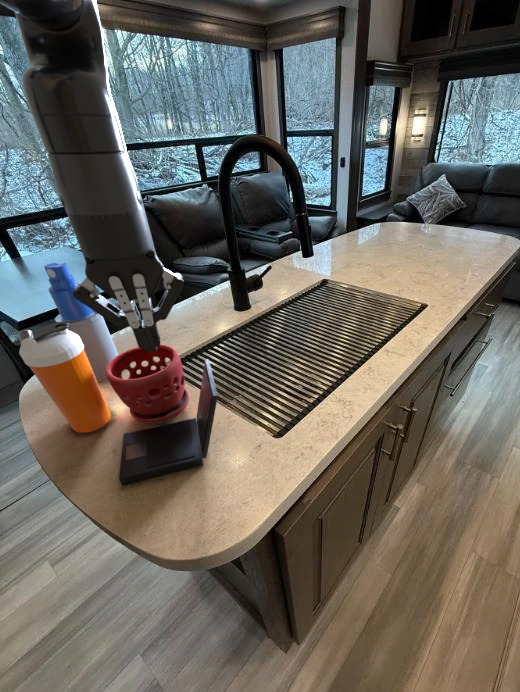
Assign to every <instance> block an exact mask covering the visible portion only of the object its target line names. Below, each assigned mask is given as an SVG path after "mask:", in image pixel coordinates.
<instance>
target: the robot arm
mask: <svg viewBox="0 0 520 692" xmlns="http://www.w3.org/2000/svg"><path fill="white" fill-rule="evenodd" d="M0 5H2V6H4V7H6V8H7V9H9V10H11V11H13V13H14V15H15V19H16V21H17V23H18V27H19V30H20V34H21V37H22V41H23V45H24V48H25V51H26V55H27V59H28V64H29V67H27V68H26V69H25V71H24V72H23V73H22V76H21V77H22V78H21V81H22V88H23V93H24V96H25V99H26V102H27V105H28V108H29V111H30V113H31V115H32V119H33V121H34V124H35V126H36V129H37V132H38V134H39V138H40V139H41V142H42V145H43V148H44V150H45V152H46V153H47V154H46V155H47V158H48V160H49V164H50V169H51V172H52V176H53V180H54V183H55V186H56V188H57V191H58V194H59V195H58V196H59V200H60V202H61V205H62V207H63V208H64V209H65V213H66V214H67V217H68V220H69V223H70V225H71V227H72V230H73V233H74V235H75V238H76V241H77V243H78V245H79V248H80V251H81V253H82V256H83V258H84V262H85V269H84V274H85V278H84V280H82V281H81V282H79V283H80V284H78V285H77V286H76V288H75V290H74V292H73V296H74V297H75V298H76V299H77V300H79V301H80V302H82V303H83V304H85V305H86V306H87V307H89V308H90V309H92V310H93V311H95V312H96V313H98V314H99V315H101V316H102V317H103V319H104V320H107V321H108V322H110V323H111V324H112V325H114V326H116V327H122V326H127V327H129V328H131V329H132V332H133V335H134V337H135V341H136V344H137V347H140V348H141V349H145V351H146V352H151V351H157V347H158V346H160V344H161V336H160V332H159V329H158V326H157V325H158V324H157V323H158V322H160V321H165V320H166V319H167V318H168V316H169V314H170V313H171V311H172V309H173V307H174V305H175V304H176V301H177V299H178V297H180V294H181V292H182V290H183V289H184V286H185V281H184V276H183V275H182V274H181V273H180V272H175V273H174V272H172V271H171V270H169V269H167V268H165V266H164V262H163V261H162V259H161V258H160V257H159V255H158V253H157V252H156V247H155V244H154V240H153V236H152V232H151V228H150V225H149V222H148V221H149V220H148V216H147V213H146V211H145V205H144V203H143V202H144V201H143V196H142V194H141V190H140V187H139V182H138V179H137V176H136V173H135V170H134V168H133V165H132V163H131V160H130V158H129V154H128V152H127V146H126V142H125V140H124V139H125V138H124V135H123V131H122V127H121V124H120V120H119V116H118V112H117V110H116V107H115V103H114V100H113V97H112V94H111V88H110V83H109V73H108V72H109V71H108V64H107V59H106V52H105V51H106V50H105V45H104V37H103V31H102V25H101V20H100V14H99V9H98V4H97V0H0ZM162 278H163V288H164V289H165V291H164V292H163V295H162V297H161V298H160V300H159V302H158V304H157V306H156V307H154V308H153V304H152V297H153V295H154V294H155V292H156V291H157V288H158V286H159V284H160V282H161V279H162ZM100 290H101V291H103V292H104V294H106V295H108V296H109V297H111V298H112V299H113V300H115V301H117V302H118V304H119V307H118V306H117V305H116V304H114V303H112V302H111V301H109V299H106V297H104V296H102V295H101V294H100ZM136 301H137V302H138V307H139V309H138V307H137V304H136ZM139 310H140V311H139ZM140 312H141V314H140Z"/></svg>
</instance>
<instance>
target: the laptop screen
mask: <svg viewBox="0 0 520 692" xmlns="http://www.w3.org/2000/svg"><path fill="white" fill-rule="evenodd" d="M218 397H219V396H218V391H217V386H216V383H215V378H214V375H213V371H212V366H211V362H210V359H206V358H205V359H204V363H203V371H202V378H201V384H200V391H199V397H198V405H197V410H196V417H195V418H196V420H197V425H198V432H199V439H200V446H201V453H202V458H203V459H207V457H208V451H209V447H210V440H211V435H212V430H213V425H214V419H215V413H216V408H217V404H218V403H217V402H218Z"/></svg>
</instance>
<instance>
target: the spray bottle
mask: <svg viewBox="0 0 520 692" xmlns="http://www.w3.org/2000/svg"><path fill="white" fill-rule="evenodd" d="M43 268H44V270H45V272H46V274H47V276H48V282H49V284H50V287H48V292H49V294H50V297H51V299H52V300H53V302H54V305H55V306H56V309H57V310H58V312H59V313H58V315H57V316H56V317H54V320H55V323H58V322H65V323H68V324H69V326H68V327H67V329H68V331H71V332H73V333H75V334H77V335H78V336H79V337H80V339H81V341H82V343H83V345H84V351H85V353H86V356H87V358H88V360H89V363H90V365H91V368H92V370H93V372H94V375H95V377H96V380H97V382H101V381H107V380H108V378H107V376H106V367H107V365H108V364H109V362H110V361H111V360H112V359H114V358H115V357H116V356H118V355H119V353H118V349H117V348H116V346H115V343H114V341H113V337H112V336H111V333H110V331H109V328H108V326H107V324H106V320H105V318H104V317H102V316H101V315H99V314H98V313H96V312H95V311H93V310H92V309H90V308H89V307H87V306H86V305H85V304H83V303H82V302H80V301H79V300H77V299H76V298H75V297H74V296H73V292H74V290H75V288H76V286H77V285H78V284H80V283H81V282H79V281H76V279H75V277H74V275H73V274H71V272H70V270H69V268H68V265H67V263H66V262H64V263H62V264H59V263H57V262H52V263H48V264H46V265H44V266H43Z"/></svg>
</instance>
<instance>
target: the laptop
mask: <svg viewBox="0 0 520 692" xmlns="http://www.w3.org/2000/svg"><path fill="white" fill-rule="evenodd" d="M121 446H122V447H121V454H120V455H121V456H120V463H119V472H118V480H119V483H120V484H121V486H122V487H125V486H127V485H131V484H135V483H139V482H144V481H147V480H152V479H155V478H159V477H164V476H167V475H171V474H174V473H178V472H182V471H187V470H191V469H194V468H199V467H202V466H204V458H202V453H201V446H200V439H199V432H198V425H197V418H196V417H193V418H187V419H184V420H179V421H175V422H169V423H165V424H161V425H157V426H152V427H147V428H142V429H139V430H134V431H133V430H132V431H129V432H124V433H123V437H122V445H121Z"/></svg>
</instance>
